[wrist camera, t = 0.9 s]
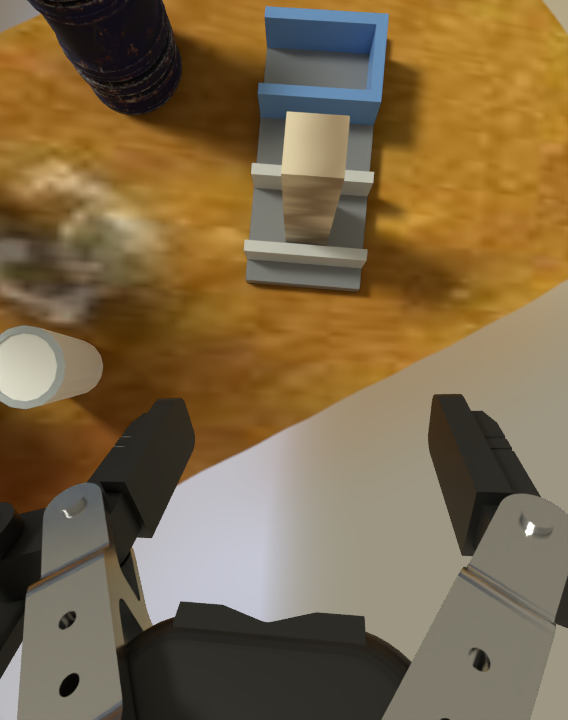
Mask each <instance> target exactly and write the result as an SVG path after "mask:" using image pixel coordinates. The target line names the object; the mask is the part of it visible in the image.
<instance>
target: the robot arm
mask: <svg viewBox="0 0 568 720" xmlns="http://www.w3.org/2000/svg"><path fill="white" fill-rule="evenodd" d="M194 444H195V434H194V430H193V427H192V424H191V421H190V417H189V414H188V411H187V408H186V404H185V402H184V400H183V399H182V398H160V399H158V400H157V401H156V402H155V403H154V405H153V406H152V408H151V409H150V410H149V412H148V413H144V414H142V415H141V416H140V417H139V418H137V419H136V420H135V421H133V422H132V423H131V424H130V425H129V426H128V428H127V429H126V430H125V432H124V433H123V435H122V438H120V439H119V440H118V441H117V443H116V444H115V447H113V448H112V449H111V451H110V452H109V453H108V455H107V456H106V457H105V459H104V460H103V461H102V463H101V464H100V465H99V467H98V468H97V469H96V471H95V472H94V474H93V475H92V476H91V478H90V479H89V480H88V482H87V483H82V484H78V485H75V486H72V487H70V488H68V489H66V490H65V491H63V492H62V493H60V494H59V495H58V496H56V497H55V498H54V499H53V500H52V501H51V502H50V504H49V505H48V506H47V508H43V509H39V510H35V511H31V512H27V513H23V514H18V513H17V511H16V510H15V509H14V507H13V506H12V505H11V504H9V503H5V502H1V503H0V678H1V677H2V675H3V673H4V672H5V670H6V668H7V667H8V665H9V663H10V661H11V660H12V658H13V656H14V655H15V653H16V651H17V649H18V648H19V646H20V644H21V643H22V641H23V644H22V645H23V646H22V659H21V672H20V686H19V700H18V715H17V720H530V718H531V714H532V711H533V707H534V704H535V700H536V697H537V693H538V690H539V686H540V683H541V680H542V676H543V673H544V669H545V666H546V662H547V659H548V655H549V652H550V648H551V645H552V642H553V638H554V633H555V629H556V624H558V625H561V626H563V627H566V628H568V515H567V514H566V513H565V512H564V511H563V510H562V509H561V508H559V507H558V506H556V505H555V504H553V503H552V502H550V501H548V500H546V499H543V498H541V496H540V495H539V493H538V491H537V490H536V488H535V487H534V485H533V483H532V481H531V479H530V478H529V476H528V474H527V473H526V471H525V469H524V468H523V466H522V464H521V463H520V461H519V459H518V457H517V456H516V454H515V452H514V451H512V447H511V446H510V444H509V442H508V441H507V439H505V435H504V434H503V432H502V430H501V429H500V427H499V425H498V424H497V422H495V421H494V420H493V419H492V418H490V417H489V416H488V415H487V414H485V413H484V412H483V411H471V410H470V408H469V406H468V404H467V402H466V401H465V399H464V397H463V395H462V394H436V395H434V396H433V399H432V406H431V416H430V423H429V433H428V444H429V450H430V455H431V458H432V461H433V464H434V467H435V471H436V474H437V477H438V480H439V484H440V487H441V490H442V493H443V496H444V499H445V503H446V506H447V509H448V512H449V516H450V519H451V522H452V525H453V529H454V531H455V535H456V538H457V541H458V544H459V548H460V551H461V554H462V556H473V557H472V559H471V561H470V563H469V565H468V566H467V567H463V568H462V570H461V571H460V573H459V575H458V576H457V578H456V580H455V582H454V584H453V585H452V587H451V589H450V591H449V593H448V595H447V597H446V599H445V601H444V603H443V605H442V607H441V608H440V610H439V612H438V614H437V616H436V618H435V619H434V621H433V623H432V625H431V627H430V629H429V631H428V633H427V635H426V636H425V638H424V640H423V642H422V644H421V646H420V648H419V650H418V652H417V654H416V655H415V657H414V659H413V661H412V662H411V661H410V660H409V659H408V658H407V657H406V656H404V655H403V654H402V653H401V652H400V651H399V650H397V649H396V648H394V647H393V646H392V645H390V644H389V643H387V642H386V641H384V640H382V639H380V638H379V637H377V636H375V635H372V634H370V633H367V632H365V619H364V616H354V615H341V614H329V613H312V614H307V615H302V616H297V617H293V618H288V619H283V620H279V621H274V622H263V621H260V620H258V619H255V618H253V617H250V616H248V615H246V614H243V613H241V612H239V611H236V610H234V609H231V608H229V607H227V606H224V605H217V604H206V603H193V602H180V604H179V607H178V610H177V613H176V616H175V617H173V618H170V619H167V620H165V621H162V622H160V623H157V624H156V625H152V623H151V620H150V618H149V615H148V612H147V608H146V604H145V600H144V595H143V590H142V586H141V581H140V577H139V572H138V567H137V562H136V558H135V554H134V550H133V549H132V545H133V544H134V541H135V540H136V538H137V537H139V538H152V537H153V535H154V532H155V530H156V528H157V526H158V524H159V522H160V520H161V518H162V515H163V513H164V511H165V509H166V507H167V505H168V503H169V500H170V498H171V496H172V494H173V492H174V490H175V488H176V486H177V484H178V481H179V479H180V477H181V475H182V473H183V471H184V469H185V467H186V464H187V462H188V460H189V458H190V456H191V454H192V452H193V449H194ZM555 623H556V624H555Z"/></svg>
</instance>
